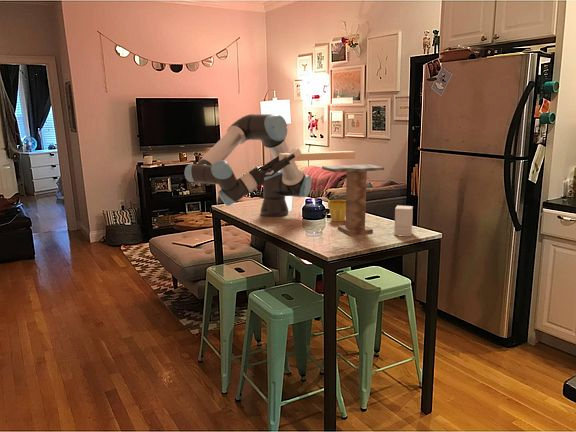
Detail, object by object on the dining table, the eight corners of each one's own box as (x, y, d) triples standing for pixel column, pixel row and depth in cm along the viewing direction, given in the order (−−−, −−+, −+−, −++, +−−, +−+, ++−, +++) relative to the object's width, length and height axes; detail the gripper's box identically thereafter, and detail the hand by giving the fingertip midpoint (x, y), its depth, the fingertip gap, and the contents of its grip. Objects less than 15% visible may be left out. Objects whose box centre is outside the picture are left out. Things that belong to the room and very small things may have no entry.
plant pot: (324, 221, 244) (325, 202, 241) (331, 217, 253) (332, 199, 251) (344, 223, 239) (344, 204, 237) (350, 219, 248) (351, 200, 246)
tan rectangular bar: (282, 161, 203) (282, 154, 203) (279, 160, 208) (279, 153, 207) (355, 158, 214) (355, 151, 214) (350, 157, 219) (350, 150, 218)
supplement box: (412, 233, 221) (413, 205, 218) (410, 237, 214) (412, 209, 211) (395, 231, 223) (396, 205, 220) (393, 235, 216) (394, 208, 213)
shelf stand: (333, 237, 214) (334, 169, 207) (321, 230, 226) (322, 166, 220) (381, 232, 221) (384, 167, 215) (366, 225, 234) (368, 164, 228)
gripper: (251, 184, 213) (295, 156, 216) (263, 190, 196) (309, 160, 200) (243, 170, 210) (287, 141, 214) (253, 175, 194) (301, 144, 198)
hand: (297, 150), depth 207 cm, fingers closed on tan rectangular bar, 4 cm apart
